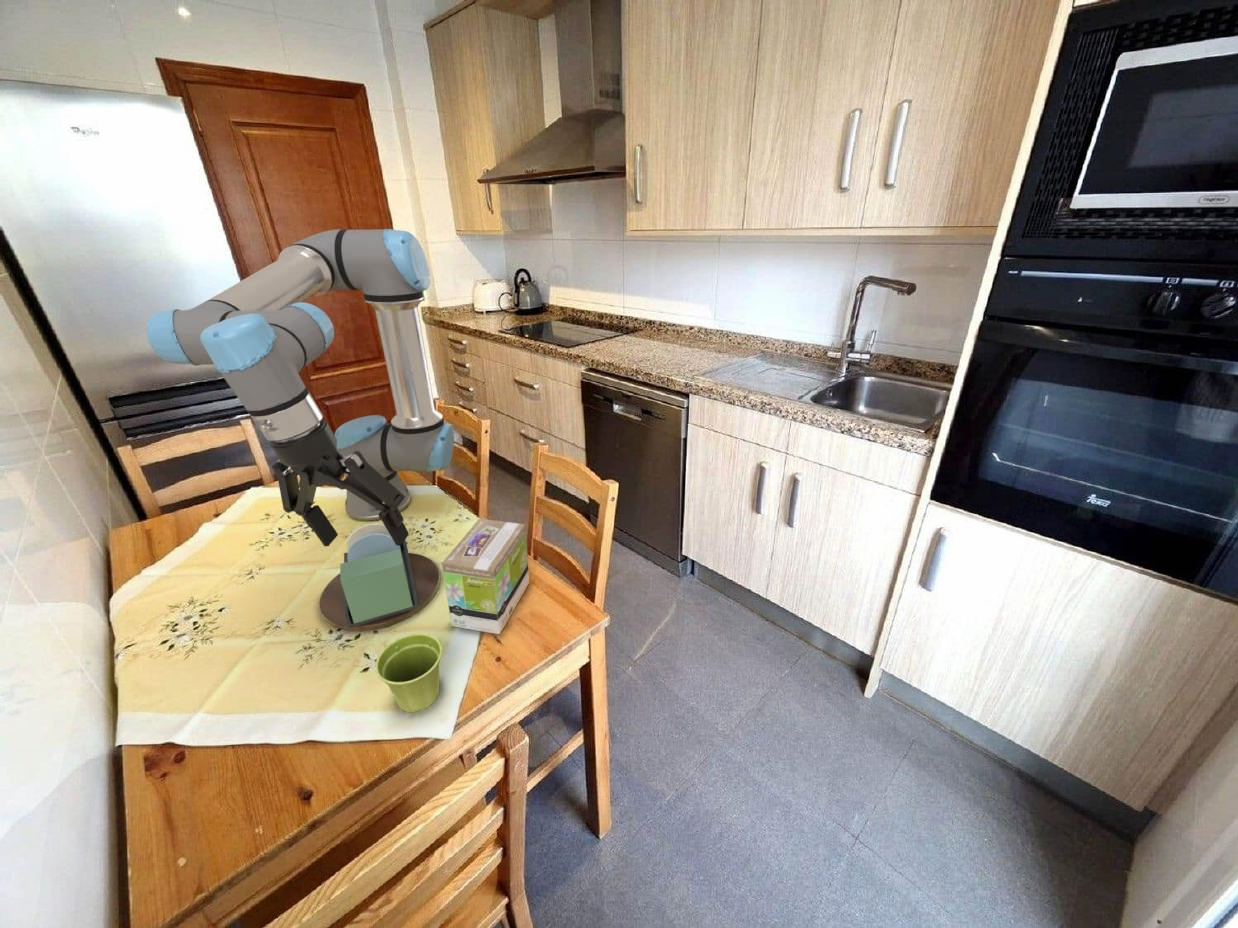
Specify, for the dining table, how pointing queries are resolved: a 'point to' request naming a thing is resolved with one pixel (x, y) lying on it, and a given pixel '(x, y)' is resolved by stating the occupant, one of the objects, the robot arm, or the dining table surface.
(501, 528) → the tea box
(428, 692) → the plant pot
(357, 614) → the dish rack
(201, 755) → the dining table surface
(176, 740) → the dining table surface
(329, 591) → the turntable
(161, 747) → the dining table surface
